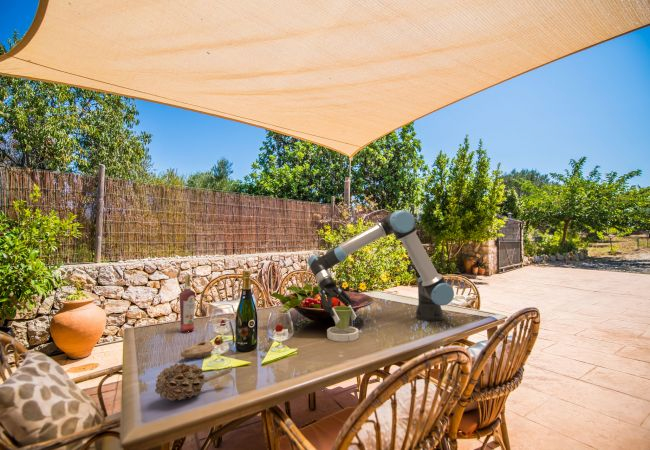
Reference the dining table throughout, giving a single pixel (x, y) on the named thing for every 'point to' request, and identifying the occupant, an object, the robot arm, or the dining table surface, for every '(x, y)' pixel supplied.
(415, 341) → the dining table surface
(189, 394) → the banksia seed pod
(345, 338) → the saucer
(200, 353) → the pottery oil lamp
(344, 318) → the plant pot
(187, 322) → the liquor
